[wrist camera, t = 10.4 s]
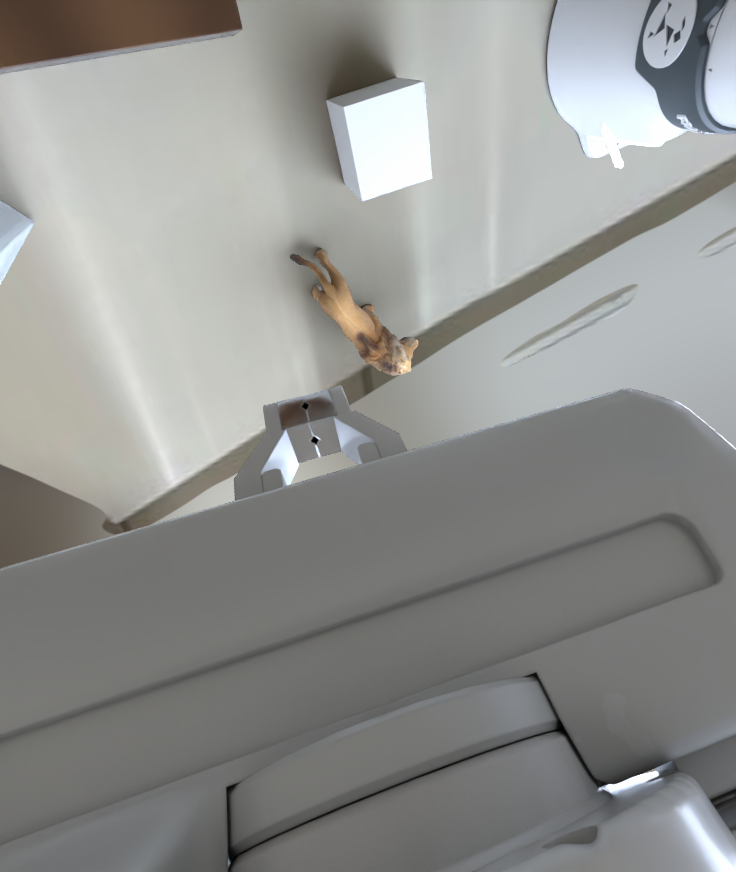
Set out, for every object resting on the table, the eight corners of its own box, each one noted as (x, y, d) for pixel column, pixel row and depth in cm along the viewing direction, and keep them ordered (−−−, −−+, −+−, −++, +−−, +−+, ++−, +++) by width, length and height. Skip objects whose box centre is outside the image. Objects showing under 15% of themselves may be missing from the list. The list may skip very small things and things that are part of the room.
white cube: (406, 163, 36) (432, 178, 32) (344, 184, 36) (362, 202, 32) (396, 76, 32) (424, 81, 28) (325, 99, 31) (343, 107, 27)
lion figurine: (403, 317, 47) (433, 358, 41) (372, 350, 49) (396, 394, 42) (305, 232, 38) (324, 267, 31) (272, 276, 39) (284, 318, 33)
